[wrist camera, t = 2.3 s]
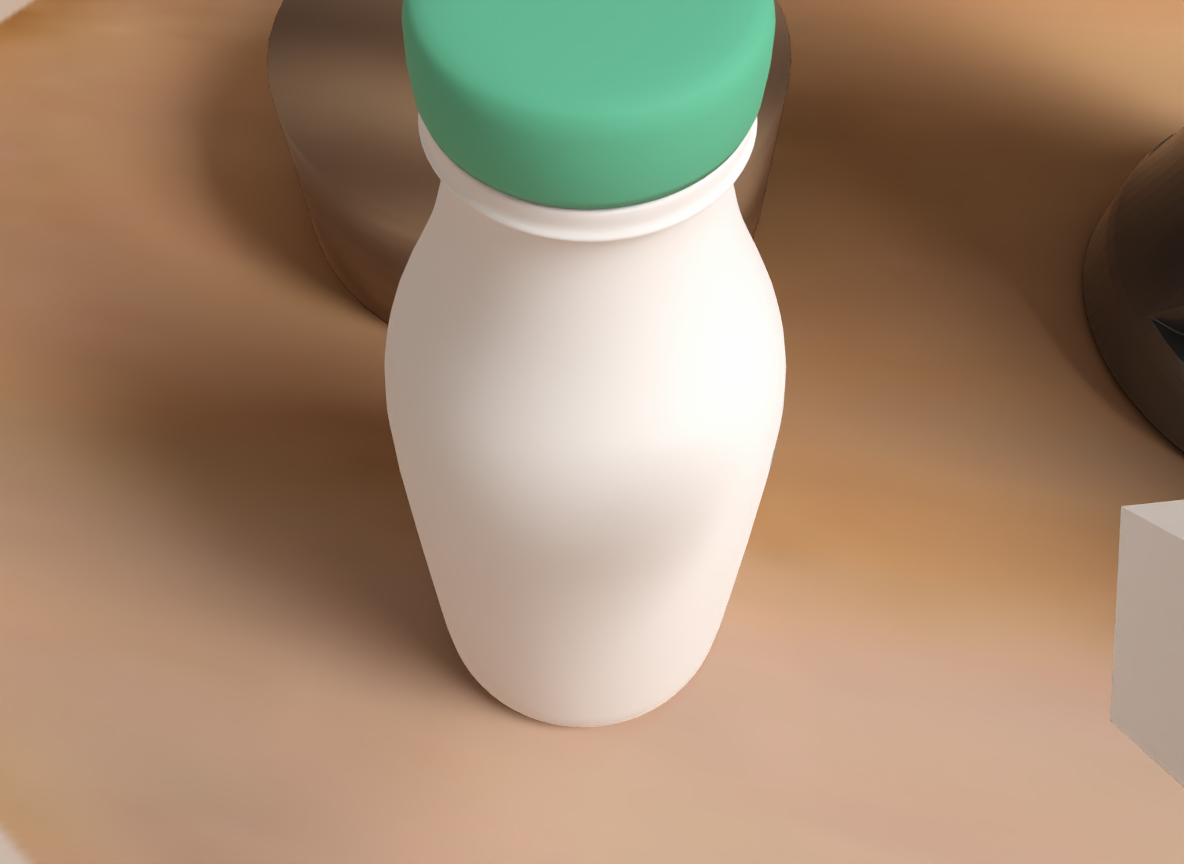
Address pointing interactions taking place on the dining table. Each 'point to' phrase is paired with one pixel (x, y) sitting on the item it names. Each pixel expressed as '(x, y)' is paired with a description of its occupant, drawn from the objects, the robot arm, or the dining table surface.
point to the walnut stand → (400, 136)
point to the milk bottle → (585, 340)
